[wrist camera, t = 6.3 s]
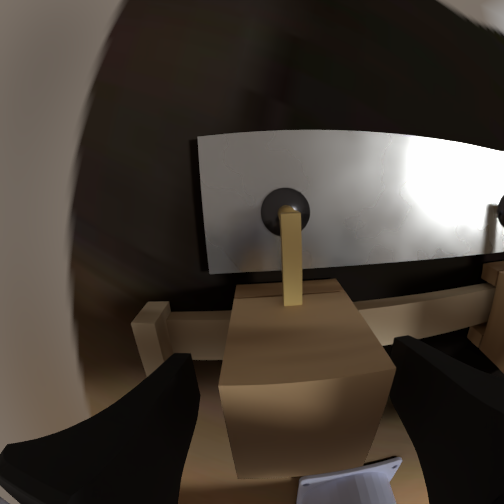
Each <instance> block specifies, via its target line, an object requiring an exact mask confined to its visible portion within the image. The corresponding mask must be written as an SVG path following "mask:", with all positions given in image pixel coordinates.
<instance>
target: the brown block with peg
mask: <svg viewBox="0 0 504 504" xmlns="http://www.w3.org/2000/svg"><path fill="white" fill-rule="evenodd" d="M278 217H279V219H280V237H281V262H282V282H280V283H263V284H244V285H237V286H236V291H235V296H234V302H233V307H232V312H231V318H230V323H229V329H228V334H227V340H226V345H225V351H224V356H223V362H222V368H221V373H220V379H219V384H218V387H219V392H220V398H221V403H222V408H223V413H224V418H225V423H226V428H227V433H228V437H229V442H230V447H231V451H232V456H233V460H234V464H235V469H236V473H237V477H238V479H268V478H285V477H297V476H307V475H315V474H322V473H329V472H335V471H341V470H346V469H351V468H356V467H361V466H363V464H364V462H365V460H366V457H367V455H368V453H369V450H370V448H371V445H372V443H373V440H374V437H375V435H376V432H377V429H378V426H379V424H380V421H381V418H382V415H383V412H384V409H385V406H386V403H387V399H388V396H389V393H390V389H391V386H392V382H393V379H394V375H395V371H396V366H395V365H394V363H393V362H392V360H391V359H390V357H389V356H388V354H387V353H386V351H385V349H384V348H383V346H382V345H381V343H380V342H379V340H378V339H377V337H376V336H375V334H374V333H373V331H372V330H371V328H370V327H369V325H368V324H367V323H366V321H365V320H364V318H363V317H362V315H361V314H360V312H359V311H358V309H357V308H356V307H355V305H354V304H353V302H352V301H351V299H350V298H349V297H348V295H347V294H346V292H344V289H343V288H342V287H341V285H340V284H339V282H338V281H337V280H336V279H324V280H311V281H302V235H301V213H300V212H299V211H295V210H294V209H293V208H292V207H291V206H289V205H284V206H282V207H280V208H279V210H278Z"/></svg>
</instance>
